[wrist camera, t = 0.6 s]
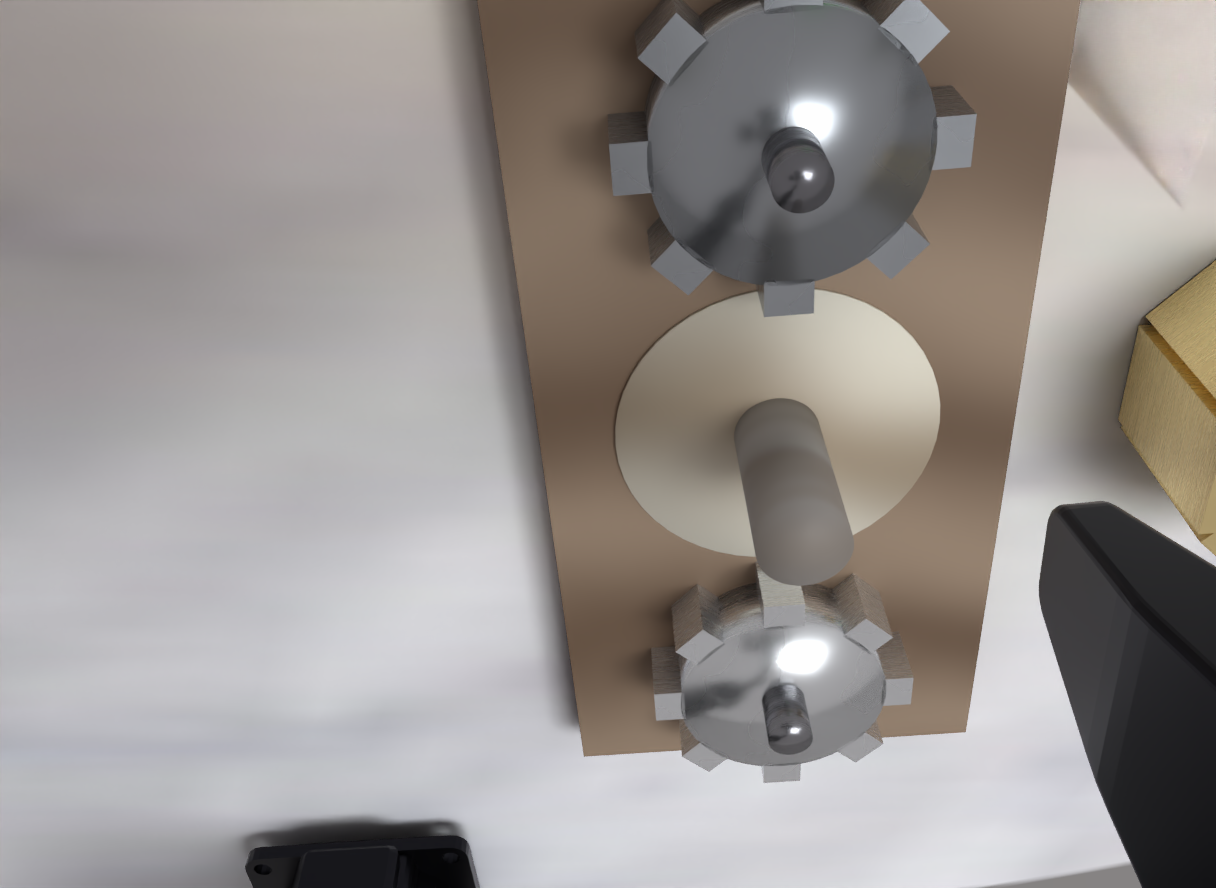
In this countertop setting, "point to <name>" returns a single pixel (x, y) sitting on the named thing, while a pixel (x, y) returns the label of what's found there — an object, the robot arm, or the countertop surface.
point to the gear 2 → (780, 674)
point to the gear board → (770, 367)
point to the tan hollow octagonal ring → (1178, 401)
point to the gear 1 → (787, 140)
